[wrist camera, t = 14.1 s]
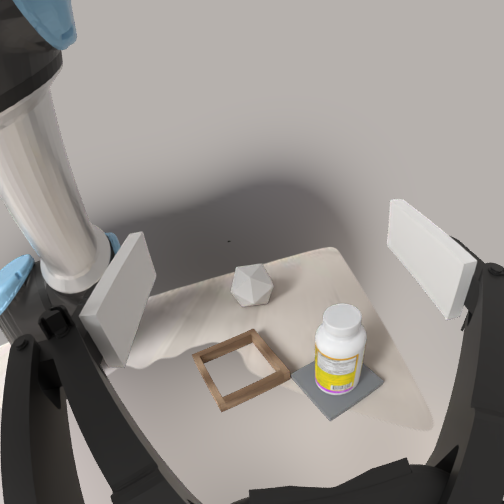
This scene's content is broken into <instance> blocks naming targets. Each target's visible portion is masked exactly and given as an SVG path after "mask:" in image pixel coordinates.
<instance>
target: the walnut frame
mask: <svg viewBox="0 0 504 504" xmlns="http://www.w3.org/2000/svg"><path fill="white" fill-rule="evenodd" d="M252 342H253V343H254V345H255V346H256V347H257V348H258V350H259V351H260V352H261V353H262V355H263V356H264V357H265V358H266V360H267V361H268V362H269V363H270V364H271V366H272V367H273V368H274V369H275V371H276V372H275V373H273V374H271V375H269V376H267V377H265V378H263V379H261V380H259V381H257V382H255V383H253V384H251V385H249V386H246V387H244V388H242V389H240V390H238V391H236V392H234V393H231V394H229V395H227V396H224V397H222V396H221V394H220V393H219V391H218V389H217V387H216V386H215V384H214V382H213V380H212V379H211V377H210V375H209V373H208V371H207V370H206V368H205V366H204V363H206V362H208V361H211V360H213V359H216V358H218V357H220V356H222V355H225V354H227V353H229V352H232V351H234V350H236V349H239V348H241V347H243V346H245V345H248V344H250V343H252ZM192 356H193V359H194V361H195V364H196V365H197V367H198V369H199V371H200V373H201V375H202V377H203V379H204V381H205V383H206V385H207V387H208V388H209V390H210V392H211V394H212V396H213V398H214V399H215V401H216V403H217V405H218V407H219V408H220V410H221V412H223V411H225V410H228V409H230V408H232V407H234V406H237V405H239V404H241V403H243V402H245V401H247V400H249V399H251V398H254V397H256V396H258V395H260V394H262V393H264V392H266V391H268V390H270V389H272V388H274V387H276V386H278V385H280V384H282V383H283V382H285V381H287V380H289V379H290V371H289V370H288V368H287V367H286V366H285V365H284V364H283V363H282V361H281V360H280V359H279V358H278V357H277V356H276V354H275V353H274V352H273V351H272V350H271V349H270V347H269V346H268V345H267V344H266V343H265V341H264V340H263V339H262V338H261V337H260V336H259V334H258V333H257V332H256V331H255V330H254V329H251V330H249V331H247V332H245V333H242V334H240V335H238V336H235V337H233V338H231V339H228V340H226V341H224V342H221V343H219V344H217V345H214V346H212V347H209V348H207V349H205V350H202V351H200V352H197V353H195V354H193V355H192Z"/></svg>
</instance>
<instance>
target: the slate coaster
mask: <svg viewBox="0 0 504 504" xmlns="http://www.w3.org/2000/svg"><path fill="white" fill-rule="evenodd" d="M291 378H292V379H293V380H294V381H295V382H296V384H297V385H298V386H299V387H300V388H301V389H302V390H303V392H304V393H305V394H306V395H307V396H308V397H309V398H310V399H311V401H312V402H313V403H314V404H315V405H316V406H317V407H318V409H320V411H321V412H322V413H323V414H324V415H325V416H326V417H327V419H328V420H329V421H331V420H333V419H334V418H336V417H338V416H339V415H341V414H342V413H344V412H345V411H347V410H348V409H349V408H351V407H352V406H354V405H355V404H357V403H358V402H359V401H361V400H362V399H364V398H365V397H366V396H368V395H369V394H370V393H372V392H373V391H374V390H376V389H377V388H378V387H380V386H381V385H382V384H383V382H384V381H383V380H382V379H381V378H379V377H378V376H377V375H376V374H375V373H374V372H373V371H371V370H370V369H369V368H368V367H367V366H366V365H364V364H363V363H362V368H361V373H360V378H359V382H358V384H357V385H356V387H355V388H354V389H353V390H351V391H350V392H348V393H346V394H342V395H331V394H328V393H325V392H323V391H322V390H321V389H320V388H319V387H318V386H317V384H316V381H315V361H313V362H312V363H310V364H308V365H306V366H304V367H303V368H301V369H299V370H297V371H295V372H293V373H292V374H291Z"/></svg>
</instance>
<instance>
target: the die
mask: <svg viewBox="0 0 504 504" xmlns="http://www.w3.org/2000/svg"><path fill="white" fill-rule="evenodd" d="M272 289H273V282H272V279H271V278H270V276H269V274H268V273H267V271H266V269H265V268H264V266H263V264H255V265H248V266H240V267H236V270H235V274H234V278H233V283H232V287H231V291H230V292H231V293H232V294H233V296H234V297H235V298H236V300H237V301H238V302H239V304H240V305H241V306H242V307H246V306H254V305H262V304H268V301H269V298H270V295H271V292H272Z"/></svg>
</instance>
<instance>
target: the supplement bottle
mask: <svg viewBox="0 0 504 504" xmlns="http://www.w3.org/2000/svg"><path fill="white" fill-rule="evenodd" d="M361 319H362V315H361V312H360V310H359V309H358V308H357V307H355V306H353V305H350V304H345V303H339V304H335V305H332V306H330V307H328V308H327V309H326V310H325V312H324V314H323V323H322V324H321V325H320V326H319V327H318V329H317V331H316V335H315V381H316V384H317V386H318V387H319V388H320V389H321V390H322V391H323V392H325V393H328V394H331V395H342V394H346V393H348V392H350V391H351V390H353V389H354V388H355V387H356V385H357V384H358V382H359V378H360V373H361V368H362V363H363V357H364V352H365V346H366V340H367V334H366V331H365V328H364V327H363V325H362V324H361Z"/></svg>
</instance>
